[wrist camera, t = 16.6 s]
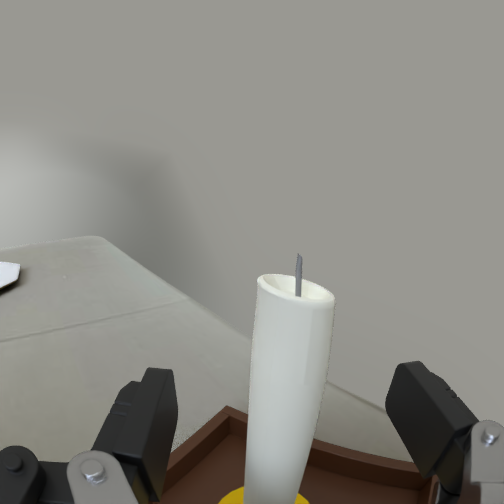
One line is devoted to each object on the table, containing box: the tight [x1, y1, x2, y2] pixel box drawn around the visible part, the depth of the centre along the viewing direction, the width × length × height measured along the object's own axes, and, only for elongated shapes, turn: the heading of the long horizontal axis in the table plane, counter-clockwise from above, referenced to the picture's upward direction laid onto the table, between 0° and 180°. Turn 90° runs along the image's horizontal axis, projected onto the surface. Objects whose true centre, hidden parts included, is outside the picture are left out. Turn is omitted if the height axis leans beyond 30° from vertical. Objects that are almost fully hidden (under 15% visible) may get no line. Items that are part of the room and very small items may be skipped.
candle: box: [218, 254, 335, 504], centre depth 7 cm, size 5×5×16 cm
